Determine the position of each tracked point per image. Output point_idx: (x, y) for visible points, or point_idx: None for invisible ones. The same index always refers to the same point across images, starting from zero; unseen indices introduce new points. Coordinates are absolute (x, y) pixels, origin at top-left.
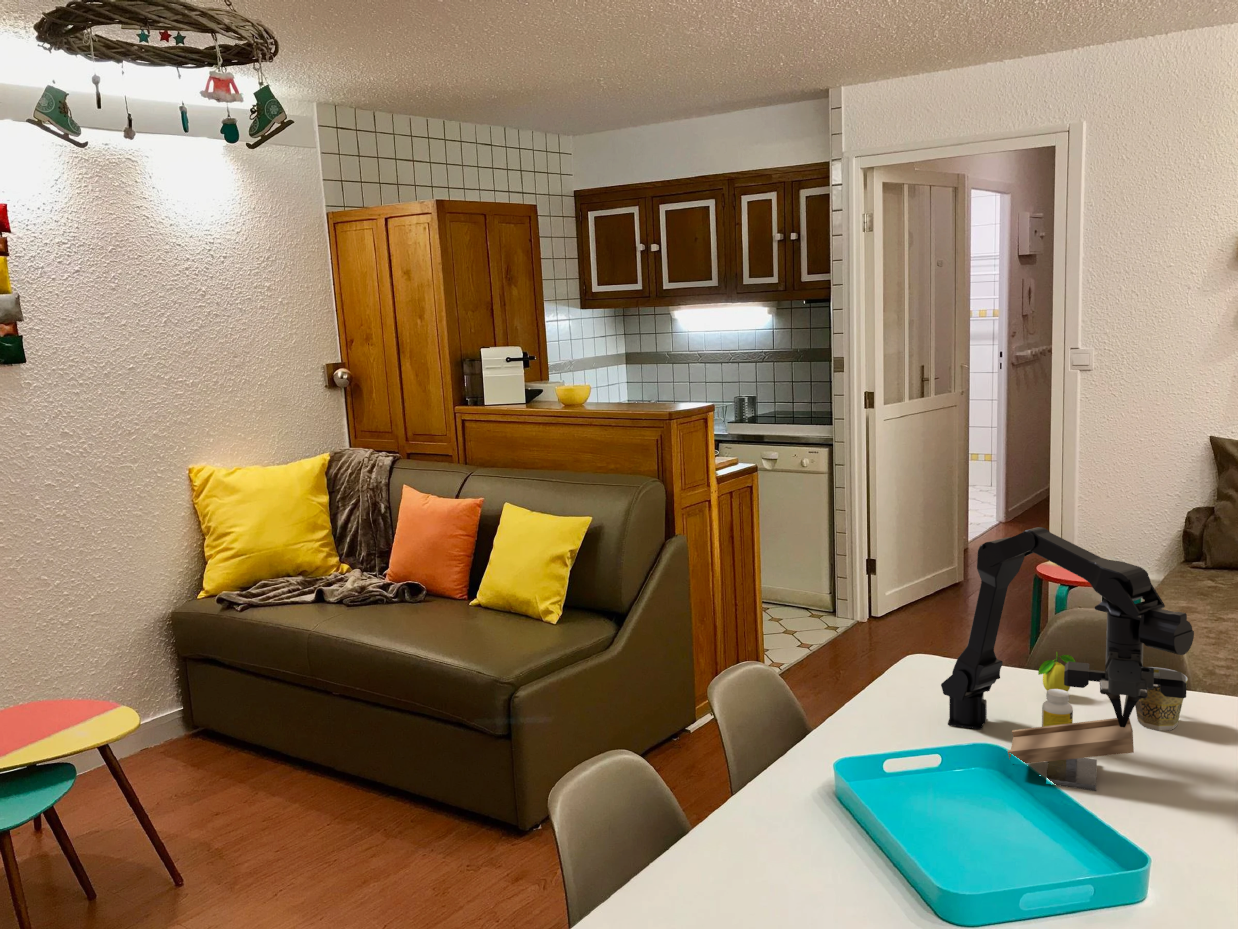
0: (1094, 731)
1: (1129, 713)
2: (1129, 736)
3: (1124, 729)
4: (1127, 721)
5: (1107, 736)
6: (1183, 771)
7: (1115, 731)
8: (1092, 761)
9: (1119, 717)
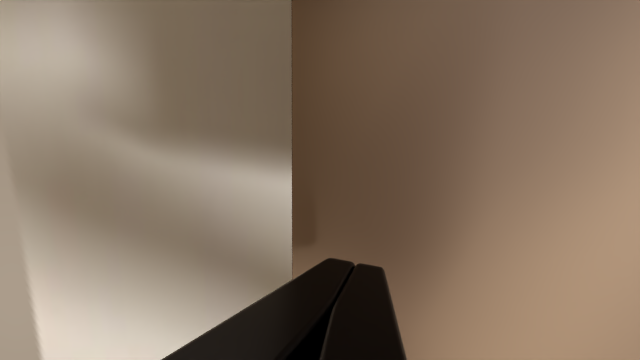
0: (609, 356)
1: (197, 348)
2: (307, 152)
3: None
4: (278, 289)
5: (521, 216)
6: (161, 245)
7: (429, 305)
8: None
9: (364, 332)
